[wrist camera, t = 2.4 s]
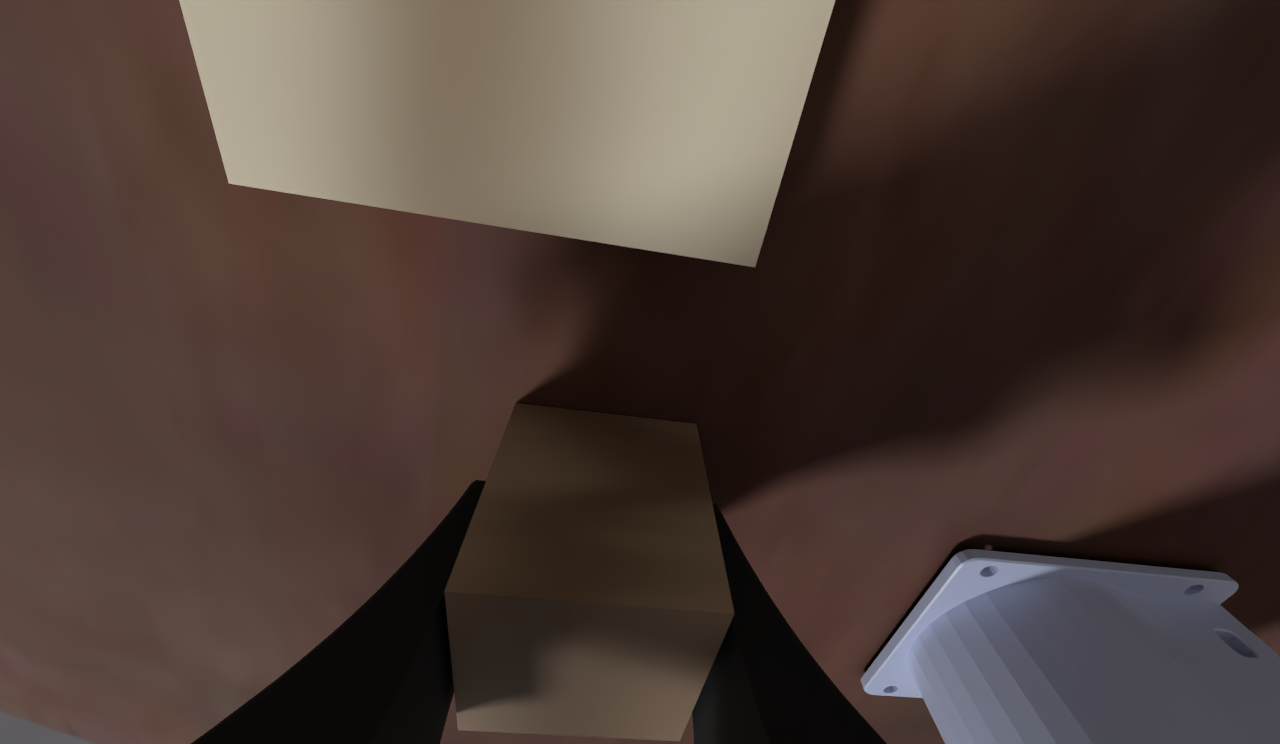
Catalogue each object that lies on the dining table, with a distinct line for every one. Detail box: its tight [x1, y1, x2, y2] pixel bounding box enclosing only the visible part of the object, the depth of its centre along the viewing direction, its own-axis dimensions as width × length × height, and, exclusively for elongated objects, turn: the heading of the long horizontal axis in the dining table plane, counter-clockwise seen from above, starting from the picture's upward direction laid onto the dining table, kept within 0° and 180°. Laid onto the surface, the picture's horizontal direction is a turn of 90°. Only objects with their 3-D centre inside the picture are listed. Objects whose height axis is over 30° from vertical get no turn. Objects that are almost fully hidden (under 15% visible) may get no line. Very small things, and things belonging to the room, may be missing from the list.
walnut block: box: [444, 403, 734, 741], centre depth 10 cm, size 4×4×5 cm
